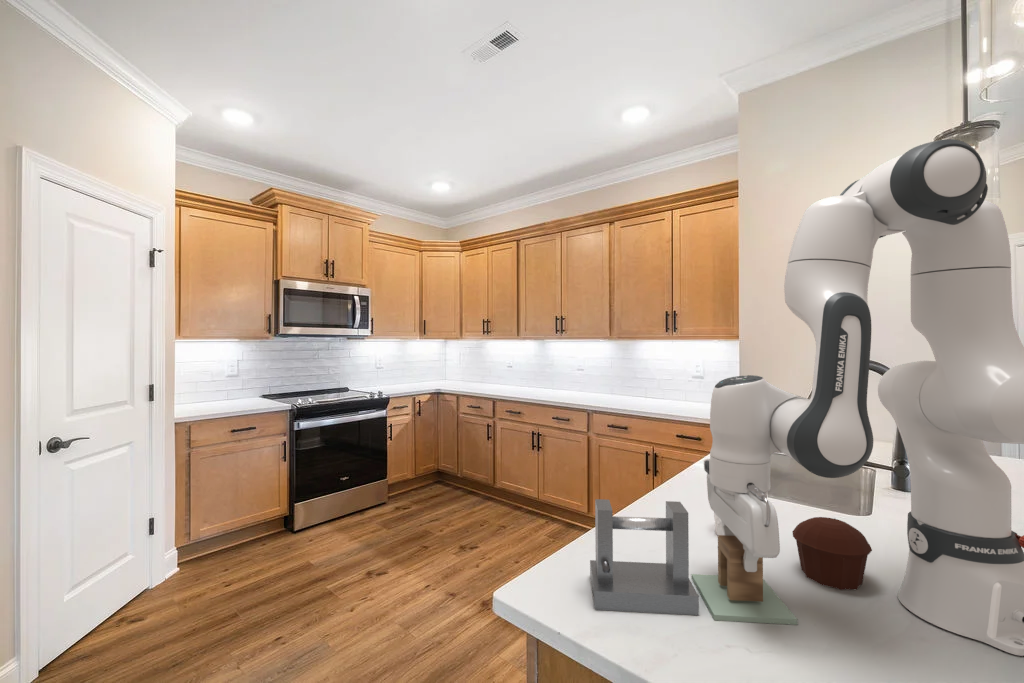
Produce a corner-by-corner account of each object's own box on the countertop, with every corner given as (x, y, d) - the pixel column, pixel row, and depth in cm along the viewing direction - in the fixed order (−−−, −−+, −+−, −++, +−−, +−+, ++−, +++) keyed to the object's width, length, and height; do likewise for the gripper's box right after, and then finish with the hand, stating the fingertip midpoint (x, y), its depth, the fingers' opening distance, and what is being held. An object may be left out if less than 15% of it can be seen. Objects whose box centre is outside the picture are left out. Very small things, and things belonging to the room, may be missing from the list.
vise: (681, 580, 80) (681, 496, 80) (698, 615, 70) (698, 519, 70) (590, 576, 82) (589, 494, 82) (594, 609, 72) (593, 515, 72)
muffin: (855, 566, 85) (855, 513, 85) (885, 598, 74) (885, 538, 74) (784, 557, 88) (784, 506, 88) (802, 587, 78) (802, 529, 78)
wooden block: (748, 583, 77) (748, 536, 77) (763, 601, 71) (762, 551, 71) (718, 581, 77) (717, 535, 77) (729, 599, 72) (729, 549, 72)
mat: (761, 581, 80) (761, 577, 80) (797, 624, 68) (797, 619, 68) (691, 578, 81) (691, 574, 81) (714, 620, 69) (714, 614, 69)
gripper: (792, 497, 63) (792, 595, 64) (735, 458, 84) (736, 532, 84) (745, 496, 64) (745, 593, 64) (700, 458, 84) (701, 531, 85)
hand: (740, 558), depth 74 cm, fingers open, 6 cm apart
